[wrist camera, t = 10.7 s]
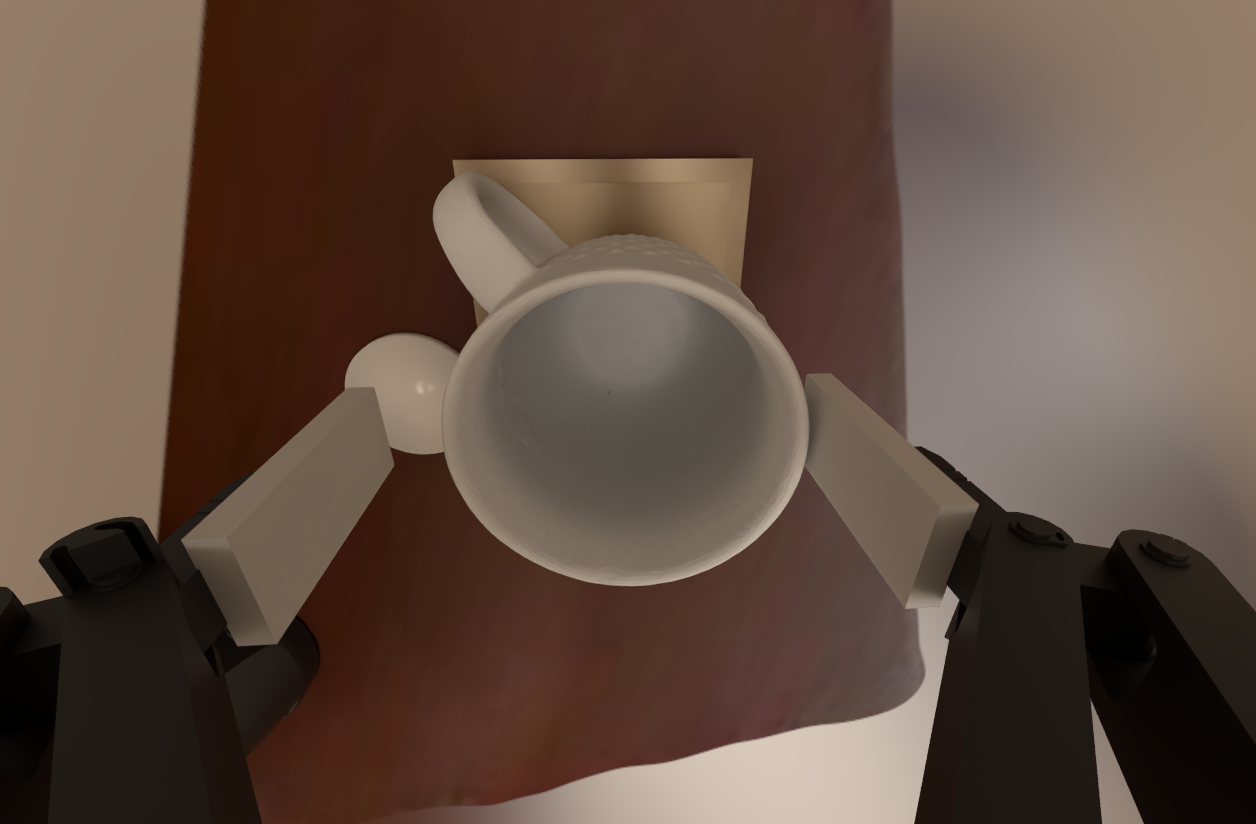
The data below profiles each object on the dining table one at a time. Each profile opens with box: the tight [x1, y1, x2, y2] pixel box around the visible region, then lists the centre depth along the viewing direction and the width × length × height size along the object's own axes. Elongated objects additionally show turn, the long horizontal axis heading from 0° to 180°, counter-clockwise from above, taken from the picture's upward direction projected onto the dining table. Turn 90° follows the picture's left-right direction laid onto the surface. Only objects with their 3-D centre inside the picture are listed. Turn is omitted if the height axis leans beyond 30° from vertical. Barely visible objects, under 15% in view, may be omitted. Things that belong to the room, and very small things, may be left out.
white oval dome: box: [345, 332, 460, 454], centre depth 31 cm, size 8×8×1 cm
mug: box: [433, 172, 809, 586], centre depth 20 cm, size 15×11×13 cm
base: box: [453, 158, 753, 328], centre depth 27 cm, size 14×14×3 cm
